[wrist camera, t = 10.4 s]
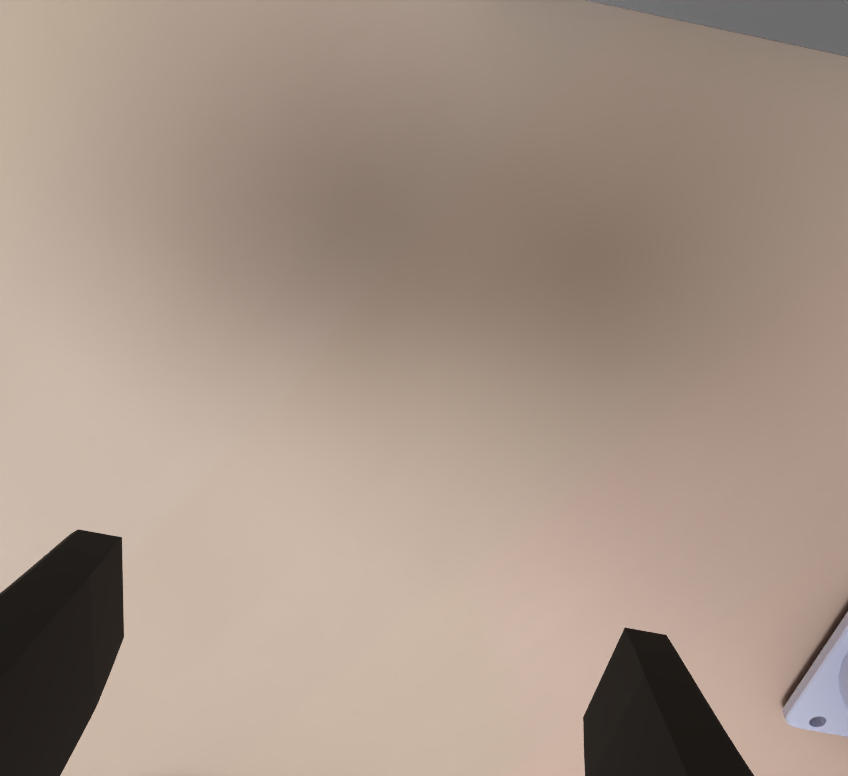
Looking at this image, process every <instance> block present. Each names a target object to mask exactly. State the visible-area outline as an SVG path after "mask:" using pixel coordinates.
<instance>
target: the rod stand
mask: <svg viewBox="0 0 848 776" xmlns="http://www.w3.org/2000/svg"><path fill="white" fill-rule="evenodd" d="M587 1H592V2H597V3H601V4H606V5H611V6H615V7H620V8H624V9H629V10H634V11H638V12H643V13H648V14H652V15H657V16H661V17H666V18H671V19H675V20H680V21H685V22H689V23H694V24H699V25H703V26H708V27H712V28H717V29H722V30H726V31H731V32H736V33H740V34H745V35H750V36H754V37H759V38H763V39H768V40H773V41H777V42H782V43H787V44H791V45H796V46H800V47H805V48H810V49H814V50H819V51H824V52H828V53H833V54H838V55H842V56H847V57H848V0H587Z"/></svg>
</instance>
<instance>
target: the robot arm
mask: <svg viewBox="0 0 848 776" xmlns="http://www.w3.org/2000/svg"><path fill="white" fill-rule="evenodd" d="M123 638H124V623H123V573H122V537H117V536H111V535H106V534H100V533H95V532H89V531H83V530H77V531H75V532H73V533H72V534H70V535H69V536H68V537H66V538H65V539H64V540H63V541H62V542H61V543H59V544H58V545H57V546H56V547H55V548H54V549H52V550H51V551H50V552H49V553H48V554H47V555H45V556H44V557H43V558H42V559H41V560H40V561H38V562H37V563H36V564H35V565H34V566H33V567H31V568H30V569H29V570H28V571H27V572H25V573H24V574H23V575H22V576H21V577H19V578H18V579H17V580H16V581H15V582H13V583H12V584H11V585H10V586H9V587H7V588H6V589H5V590H4V591H3V592H1V593H0V776H60V775H61V773H62V771H63V769H64V767H65V765H66V764H67V762H68V760H69V758H70V756H71V754H72V752H73V750H74V748H75V747H76V745H77V743H78V741H79V739H80V737H81V735H82V733H83V731H84V729H85V728H86V726H87V724H88V722H89V720H90V718H91V716H92V714H93V712H94V710H95V708H96V706H97V704H98V701H99V699H100V696H101V694H102V691H103V689H104V687H105V684H106V682H107V679H108V677H109V674H110V672H111V669H112V666H113V664H114V661H115V659H116V656H117V654H118V651H119V648H120V646H121V643H122V641H123ZM783 714H784V717H785V720H786V722H787V723H788V724H789V725H790V726H793V727H796V728H800V729H806V730H812V731H817V732H823V733H829V734H835V735H840V736H846V737H848V612H847V613H846V615H845V616H844V618H843V619H842V621H841V622H840V624H839V625H838V627H837V628H836V630H835V631H834V633H833V634H832V636H831V637H830V639H829V640H828V642H827V643H826V645H825V646H824V648H823V649H822V651H821V652H820V654H819V655H818V657H817V658H816V660H815V661H814V663H813V664H812V666H811V667H810V669H809V670H808V672H807V673H806V675H805V676H804V678H803V679H802V681H801V682H800V684H799V685H798V687H797V688H796V690H795V691H794V693H793V694H792V695H791V697H790V698H789V700H788V701H787V703H786V704H785V706H784V708H783ZM583 721H584V759H585V776H754V775H753V773H752V772H751V770H750V769H749V767H748V766H747V764H746V763H745V761H744V760H743V758H742V757H741V755H740V754H739V752H738V751H737V749H736V747H735V746H734V744H733V743H732V741H731V740H730V738H729V736H728V735H727V733H726V732H725V730H724V728H723V727H722V725H721V724H720V722H719V720H718V719H717V717H716V715H715V714H714V712H713V711H712V709H711V707H710V706H709V704H708V702H707V701H706V699H705V698H704V696H703V694H702V693H701V691H700V689H699V688H698V686H697V684H696V683H695V681H694V679H693V678H692V676H691V674H690V673H689V671H688V670H687V668H686V666H685V665H684V663H683V661H682V660H681V658H680V656H679V655H678V653H677V651H676V650H675V648H674V647H673V645H672V643H671V642H670V640H669V639H668V637H667V635H663V634H657V633H652V632H646V631H640V630H635V629H629V628H625V629H624V631H623V633H622V635H621V637H620V639H619V642H618V644H617V646H616V648H615V650H614V652H613V654H612V657H611V659H610V661H609V663H608V665H607V667H606V670H605V672H604V674H603V676H602V678H601V680H600V682H599V685H598V687H597V689H596V691H595V693H594V695H593V698H592V700H591V702H590V704H589V706H588V708H587V710H586V713H585V715H584V717H583Z"/></svg>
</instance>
